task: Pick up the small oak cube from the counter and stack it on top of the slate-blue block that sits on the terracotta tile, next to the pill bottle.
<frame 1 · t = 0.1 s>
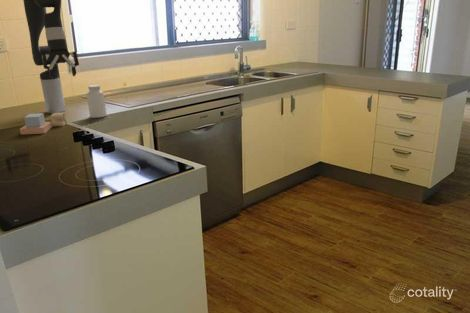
hand: (63, 77, 182), 22 cm above the worktop, tool pointing down, fingers open, 8 cm apart
blue block: (35, 125, 183), point 2 cm above the worktop, touching tile base
oak block: (59, 124, 193), on the worktop
pill bottle: (98, 116, 205), on the worktop
tile base: (37, 130, 184), on the worktop
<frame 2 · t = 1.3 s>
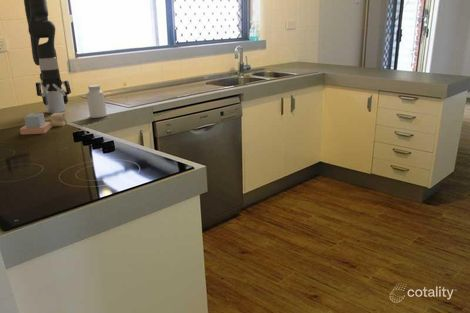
hand: (56, 104, 190), 10 cm above the worktop, tool pointing down, fingers open, 8 cm apart
nothing on the worktop moved.
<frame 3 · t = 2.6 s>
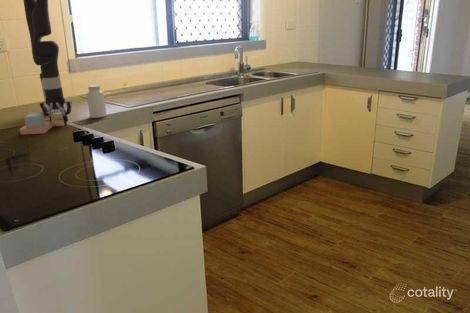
hand: (59, 123, 193), 0 cm above the worktop, tool pointing down, fingers closed on oak block, 5 cm apart
oak block: (59, 124, 193), on the worktop, touching gripper
everything else where it was.
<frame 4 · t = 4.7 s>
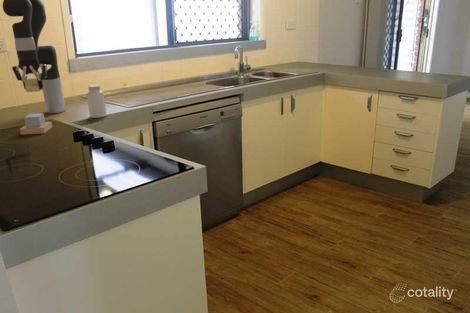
hand: (34, 89, 179), 18 cm above the worktop, tool pointing down, fingers closed on oak block, 5 cm apart
oak block: (34, 90, 179), point 18 cm above the worktop, touching gripper
everything else where it was.
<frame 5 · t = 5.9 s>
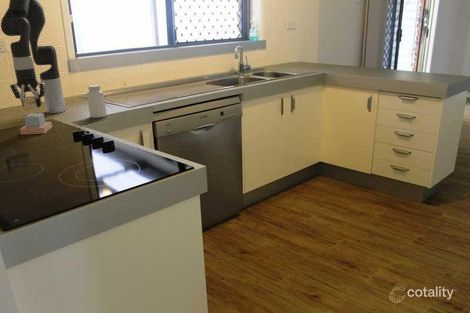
hand: (32, 107, 180), 11 cm above the worktop, tool pointing down, fingers closed on oak block, 5 cm apart
oak block: (32, 108, 181), point 10 cm above the worktop, touching gripper
everything else where it was.
when the fingers open (8 cm above the worktop, at t = 6.7 s): oak block stays where it is, resting on blue block.
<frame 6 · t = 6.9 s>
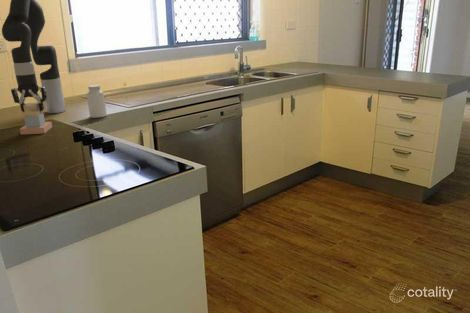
hand: (33, 111, 181), 9 cm above the worktop, tool pointing down, fingers open, 6 cm apart
blue block: (35, 125, 183), point 2 cm above the worktop, touching oak block, tile base
oak block: (33, 115, 182), point 7 cm above the worktop, touching blue block
everything else where it was.
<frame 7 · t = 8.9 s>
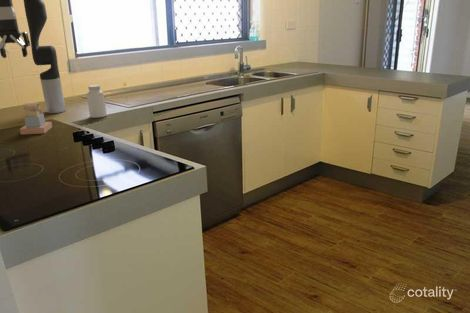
hand: (14, 57, 182), 31 cm above the worktop, tool pointing down, fingers open, 8 cm apart
nothing on the worktop moved.
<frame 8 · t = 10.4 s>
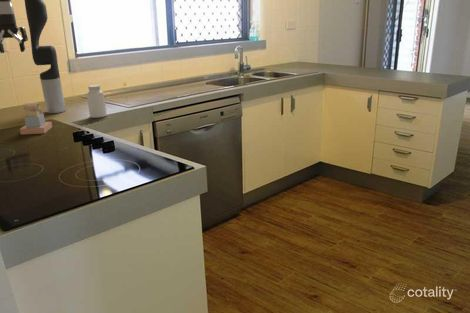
hand: (12, 52, 183), 33 cm above the worktop, tool pointing down, fingers open, 8 cm apart
nothing on the worktop moved.
at the end: oak block 0.1 cm off-centre on the blue block, point 4.5 cm above the blue block's base; oak block tilted 0°; blue block moved 0.1 cm from its start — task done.
